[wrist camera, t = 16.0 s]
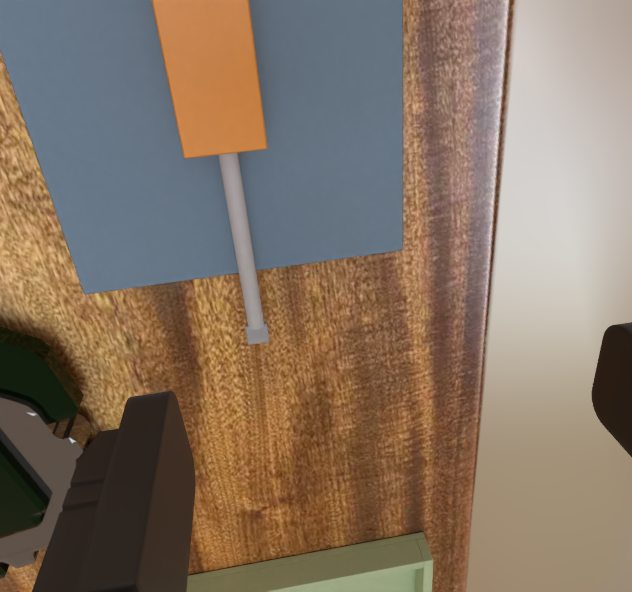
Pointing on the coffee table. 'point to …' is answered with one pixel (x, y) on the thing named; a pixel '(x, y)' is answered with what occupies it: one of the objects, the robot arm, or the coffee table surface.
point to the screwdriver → (218, 109)
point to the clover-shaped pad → (34, 444)
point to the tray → (332, 570)
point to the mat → (204, 172)
